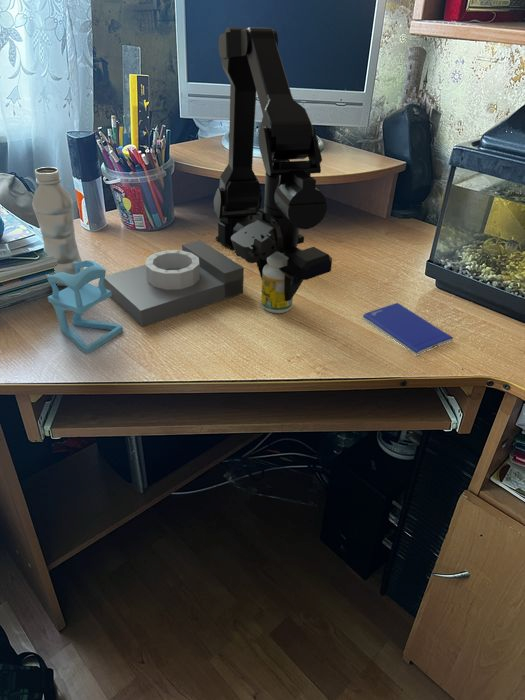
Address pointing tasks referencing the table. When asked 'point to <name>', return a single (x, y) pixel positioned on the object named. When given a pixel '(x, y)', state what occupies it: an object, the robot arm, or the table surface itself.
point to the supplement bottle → (274, 285)
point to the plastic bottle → (56, 220)
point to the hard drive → (407, 328)
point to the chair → (81, 301)
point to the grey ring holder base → (175, 282)
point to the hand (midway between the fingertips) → (277, 293)
